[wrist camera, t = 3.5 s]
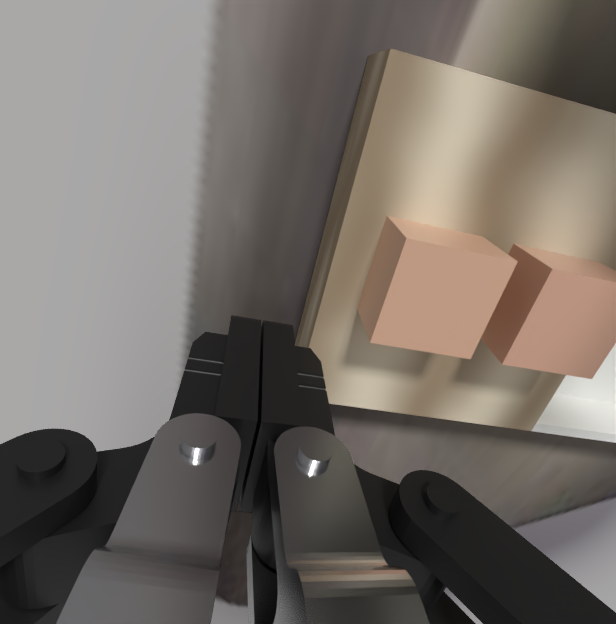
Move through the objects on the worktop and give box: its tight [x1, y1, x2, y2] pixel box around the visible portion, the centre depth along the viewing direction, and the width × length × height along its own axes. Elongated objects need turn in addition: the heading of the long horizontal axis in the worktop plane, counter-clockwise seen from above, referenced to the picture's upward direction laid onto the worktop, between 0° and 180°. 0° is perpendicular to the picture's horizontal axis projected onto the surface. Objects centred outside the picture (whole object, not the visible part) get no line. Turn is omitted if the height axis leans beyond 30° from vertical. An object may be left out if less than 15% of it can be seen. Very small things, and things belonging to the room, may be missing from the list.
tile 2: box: [481, 244, 616, 379], centre depth 19 cm, size 4×4×3 cm
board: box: [295, 49, 616, 431], centre depth 21 cm, size 14×16×4 cm
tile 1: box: [357, 216, 518, 359], centre depth 18 cm, size 4×4×3 cm
